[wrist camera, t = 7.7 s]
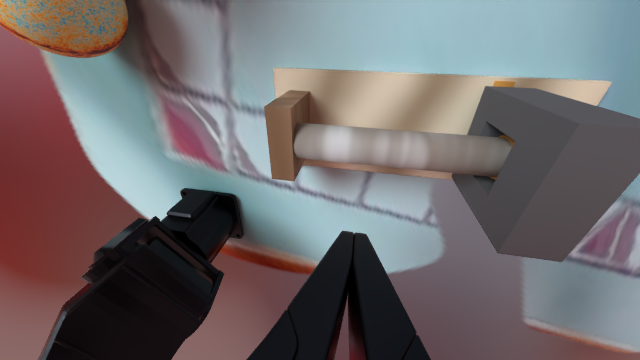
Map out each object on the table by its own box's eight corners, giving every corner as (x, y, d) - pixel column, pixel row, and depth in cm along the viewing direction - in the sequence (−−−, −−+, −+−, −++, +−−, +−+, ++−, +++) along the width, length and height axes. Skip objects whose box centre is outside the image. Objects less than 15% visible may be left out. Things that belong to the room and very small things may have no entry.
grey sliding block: (536, 88, 15) (677, 129, 8) (491, 180, 18) (561, 262, 12) (485, 86, 15) (579, 123, 8) (451, 176, 19) (497, 253, 12)
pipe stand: (603, 80, 15) (722, 101, 10) (538, 184, 19) (598, 236, 14) (275, 67, 18) (240, 78, 13) (282, 159, 22) (258, 194, 17)
